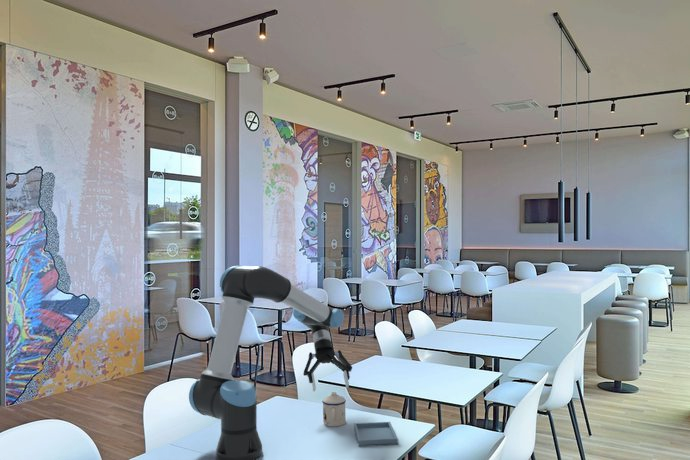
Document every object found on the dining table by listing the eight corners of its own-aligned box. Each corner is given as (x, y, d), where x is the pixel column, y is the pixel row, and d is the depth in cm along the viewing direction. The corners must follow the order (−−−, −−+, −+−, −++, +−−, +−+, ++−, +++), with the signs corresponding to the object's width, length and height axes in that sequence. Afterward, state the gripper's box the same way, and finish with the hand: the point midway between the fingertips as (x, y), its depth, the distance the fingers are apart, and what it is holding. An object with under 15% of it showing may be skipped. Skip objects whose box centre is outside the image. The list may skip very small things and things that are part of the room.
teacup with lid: (323, 418, 205) (323, 389, 205) (346, 418, 205) (346, 389, 205) (321, 430, 193) (320, 398, 193) (345, 429, 193) (344, 398, 193)
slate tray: (358, 446, 177) (358, 440, 177) (354, 428, 194) (354, 423, 194) (397, 444, 178) (397, 438, 178) (390, 426, 195) (390, 421, 195)
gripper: (349, 345, 227) (359, 389, 212) (293, 350, 221) (299, 395, 206) (352, 336, 222) (362, 380, 207) (294, 340, 216) (301, 386, 201)
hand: (331, 388), depth 207 cm, fingers open, 13 cm apart
